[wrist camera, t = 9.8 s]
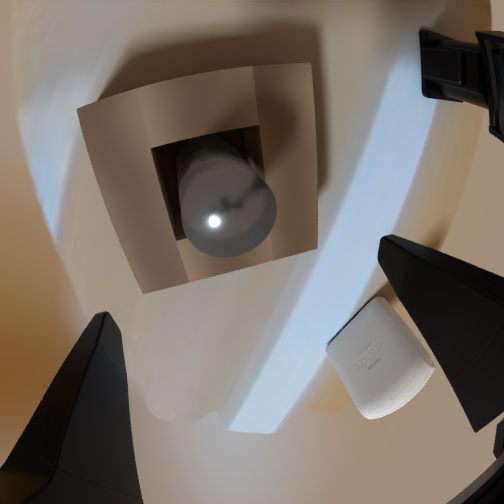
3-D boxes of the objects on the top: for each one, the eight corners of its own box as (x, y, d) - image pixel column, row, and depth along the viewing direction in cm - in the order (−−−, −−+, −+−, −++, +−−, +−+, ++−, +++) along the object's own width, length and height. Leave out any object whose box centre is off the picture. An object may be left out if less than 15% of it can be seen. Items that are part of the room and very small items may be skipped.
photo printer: (374, 291, 31) (436, 371, 21) (390, 299, 33) (446, 371, 23) (318, 349, 34) (361, 430, 25) (338, 352, 37) (379, 426, 27)
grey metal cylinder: (231, 128, 17) (272, 161, 11) (239, 183, 20) (280, 244, 13) (170, 141, 17) (171, 184, 10) (183, 197, 19) (194, 267, 13)
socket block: (283, 64, 15) (310, 62, 12) (295, 221, 23) (317, 248, 19) (95, 102, 14) (76, 108, 11) (144, 259, 21) (143, 294, 18)
